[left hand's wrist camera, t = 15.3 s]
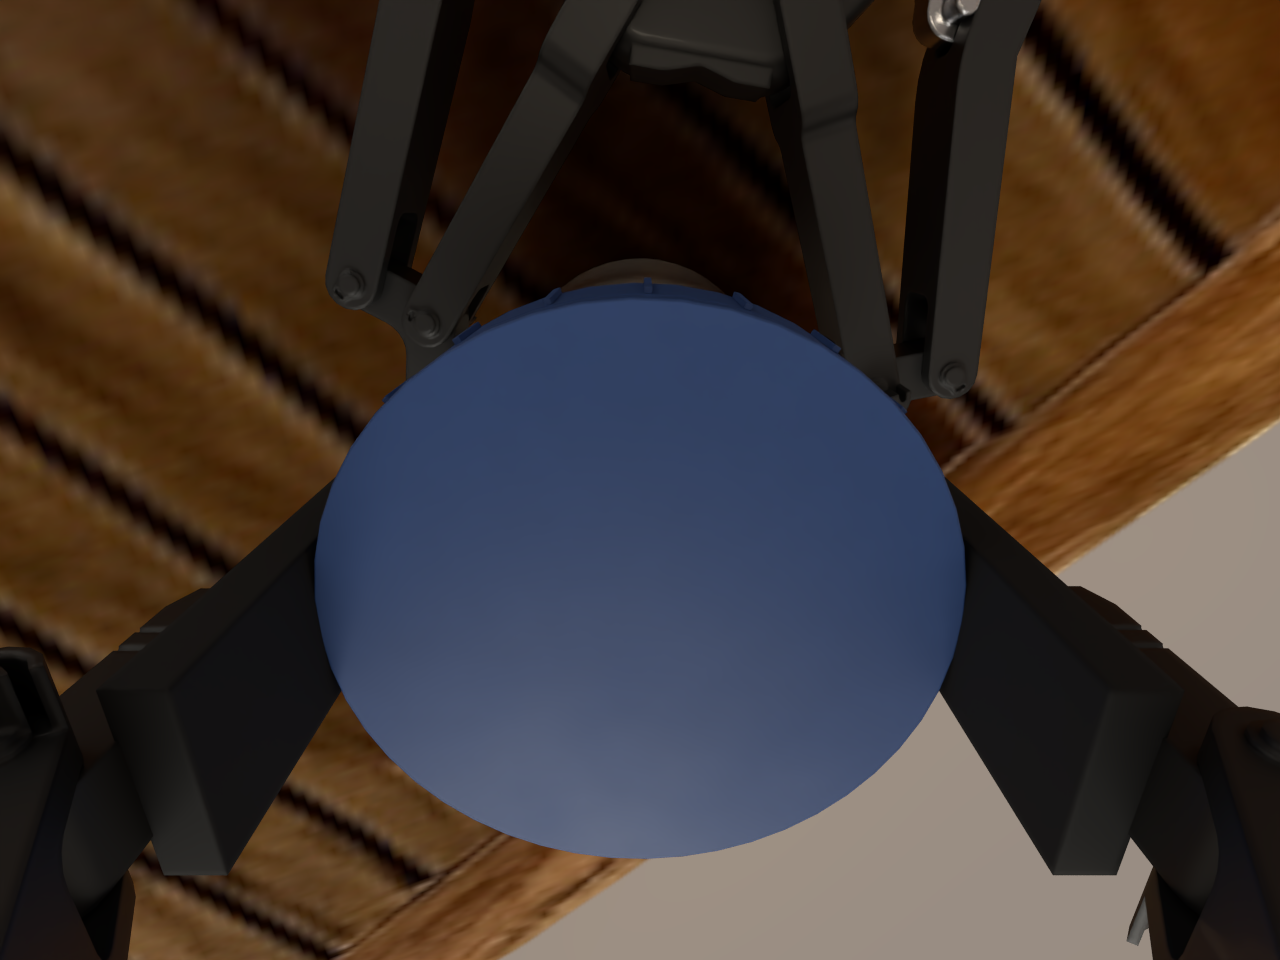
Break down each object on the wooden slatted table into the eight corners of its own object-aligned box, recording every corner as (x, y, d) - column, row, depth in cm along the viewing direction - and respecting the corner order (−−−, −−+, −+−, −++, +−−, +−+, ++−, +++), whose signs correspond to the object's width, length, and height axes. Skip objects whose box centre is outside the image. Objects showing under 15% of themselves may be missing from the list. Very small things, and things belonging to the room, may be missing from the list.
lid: (280, 661, 13) (225, 730, 11) (497, 144, 9) (466, 131, 8) (731, 846, 15) (743, 929, 13) (1045, 464, 11) (1116, 508, 10)
